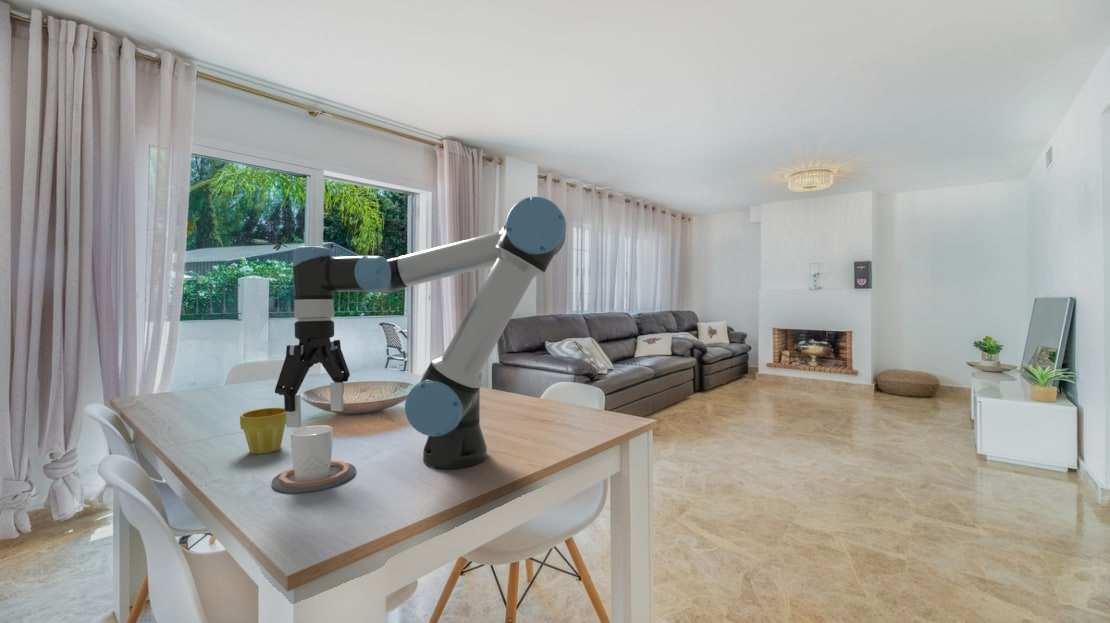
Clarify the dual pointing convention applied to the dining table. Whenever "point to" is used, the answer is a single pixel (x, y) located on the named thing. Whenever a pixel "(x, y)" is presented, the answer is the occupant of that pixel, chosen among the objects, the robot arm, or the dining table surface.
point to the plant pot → (263, 429)
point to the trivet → (337, 476)
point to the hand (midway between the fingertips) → (317, 418)
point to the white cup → (311, 452)
